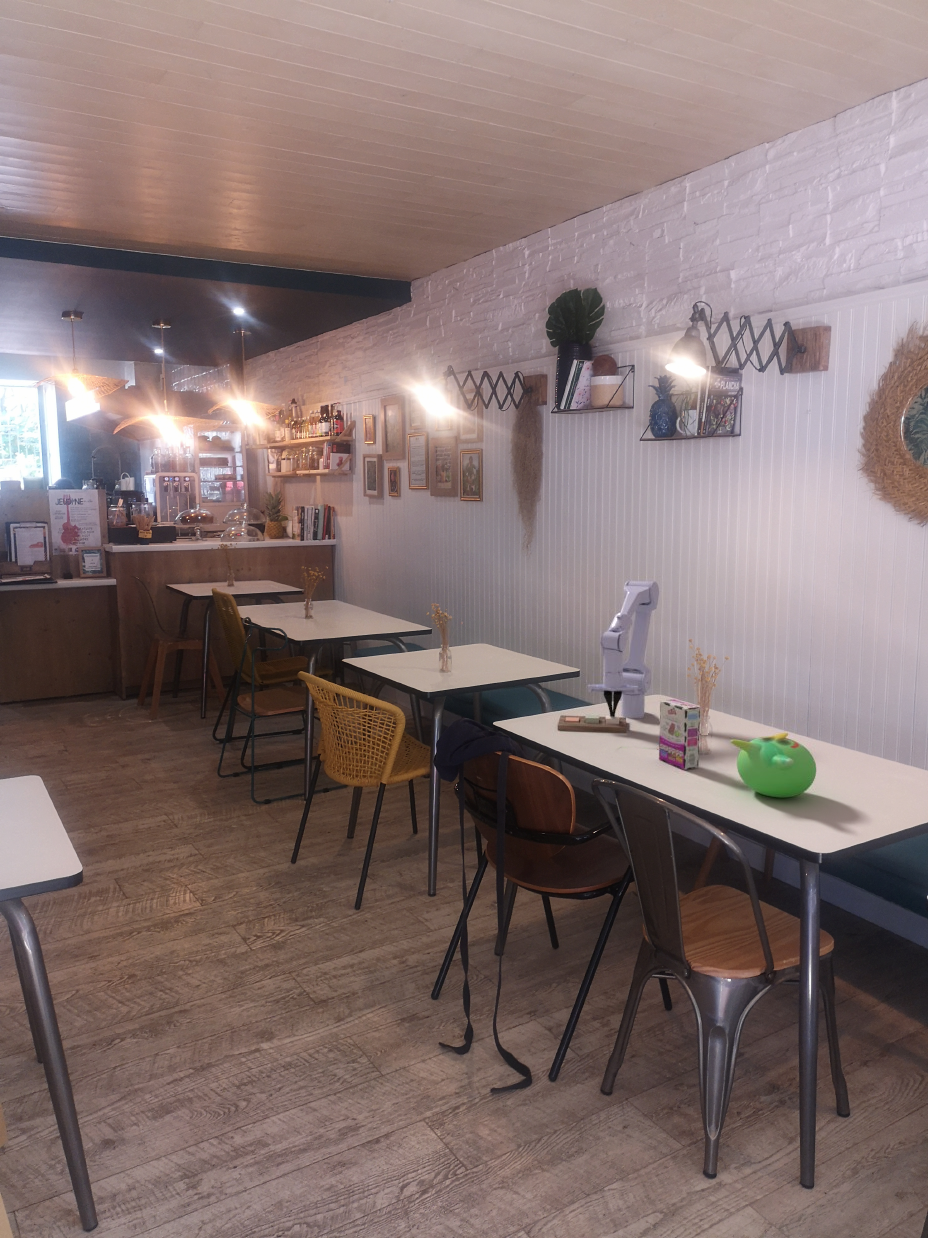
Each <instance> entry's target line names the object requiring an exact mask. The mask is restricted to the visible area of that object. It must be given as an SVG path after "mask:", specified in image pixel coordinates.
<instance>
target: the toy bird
mask: <svg viewBox="0 0 928 1238" xmlns="http://www.w3.org/2000/svg"><path fill="white" fill-rule="evenodd" d="M788 735H789V733H788V732H782V733H781V732H780V733H777V734H774V735H769V736H768V735H767V736H761V737H758V738H757V737H756V738H754V739H752V740H750V741H746V740H741V739H731V740H730V743H731V744H733V746H736V747H737V748H739V749H740V751H739V753H738V756H737V759H736V768H737V773H738V774H739V777H740V778H741V780H742V781H743V782H744V784H745V785H746V786H747V787H749V788H750V789H752V791H755V792H757V793H759V794H761V795H764V796H768V797H772V798H791V797H795V796H798V795H801V794H803V793H804V792H806V791H807V790H809V788H810V787H811V786H812V785H813V784H814V782H815V779H816V775H817V765H816V761H815V758H814V756H813V754H812V753H811V752H810V750H808V748H807V747H805V746H804V745H803V744H801V743H799V742H797V741H796V740H793V739H791V738H787V737H788Z"/></svg>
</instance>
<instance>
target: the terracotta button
mask: <svg viewBox="0 0 928 1238" xmlns="http://www.w3.org/2000/svg"><path fill="white" fill-rule="evenodd" d="M565 722H572V723H579V718H575V717H566V720H565Z"/></svg>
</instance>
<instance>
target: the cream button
mask: <svg viewBox="0 0 928 1238" xmlns="http://www.w3.org/2000/svg"><path fill="white" fill-rule="evenodd" d="M605 717H606V724H619V717H620V715H615V717H610V714H609V715H608V714H607V715H605Z"/></svg>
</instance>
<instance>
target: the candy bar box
mask: <svg viewBox="0 0 928 1238" xmlns="http://www.w3.org/2000/svg"><path fill="white" fill-rule="evenodd" d="M659 701H660V702H659V704H660V706H659V710H660V711H659V743H658V745H659V747H658V751H659V752H658V760H659V761H661V762H664V763H666V764H668V765H671V766H673V767H676V768H678V769H681V770H683V771H688V770H694V769H699V765H700V764H699V763H700V762H699V760H700V759H699V757H700V733H701V732H700V724H701V707H700V706H697V705H693V704H690V703H687V702H684V701H681V700H677V699H665V700H659Z"/></svg>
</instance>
